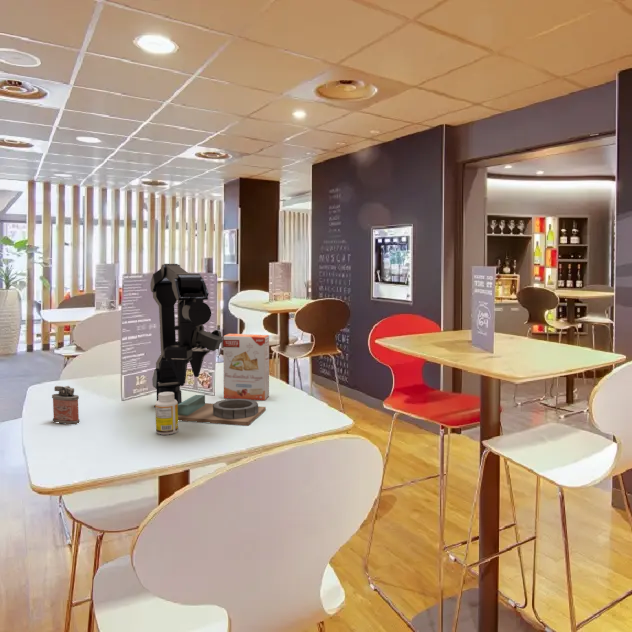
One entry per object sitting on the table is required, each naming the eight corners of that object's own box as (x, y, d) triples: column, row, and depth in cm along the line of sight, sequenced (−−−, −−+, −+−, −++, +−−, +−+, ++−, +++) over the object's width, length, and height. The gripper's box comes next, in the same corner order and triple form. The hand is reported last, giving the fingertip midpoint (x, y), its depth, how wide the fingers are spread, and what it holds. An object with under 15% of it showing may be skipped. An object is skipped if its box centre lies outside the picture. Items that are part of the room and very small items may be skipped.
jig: (169, 420, 145) (169, 406, 145) (194, 405, 161) (193, 392, 161) (248, 425, 141) (248, 411, 140) (265, 410, 156) (265, 396, 156)
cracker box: (223, 399, 169) (222, 335, 167) (229, 394, 175) (228, 333, 173) (265, 401, 167) (264, 336, 165) (269, 396, 173) (269, 334, 171)
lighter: (82, 422, 143) (81, 386, 142) (73, 425, 140) (71, 388, 139) (59, 419, 146) (58, 383, 145) (49, 422, 142) (48, 386, 142)
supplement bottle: (170, 427, 139) (169, 389, 138) (182, 431, 135) (182, 393, 134) (151, 432, 134) (150, 393, 133) (163, 437, 131) (163, 397, 130)
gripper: (204, 325, 126) (205, 389, 127) (229, 319, 145) (230, 374, 146) (161, 324, 128) (163, 387, 129) (191, 318, 146) (192, 373, 148)
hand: (189, 380), depth 138 cm, fingers open, 9 cm apart
